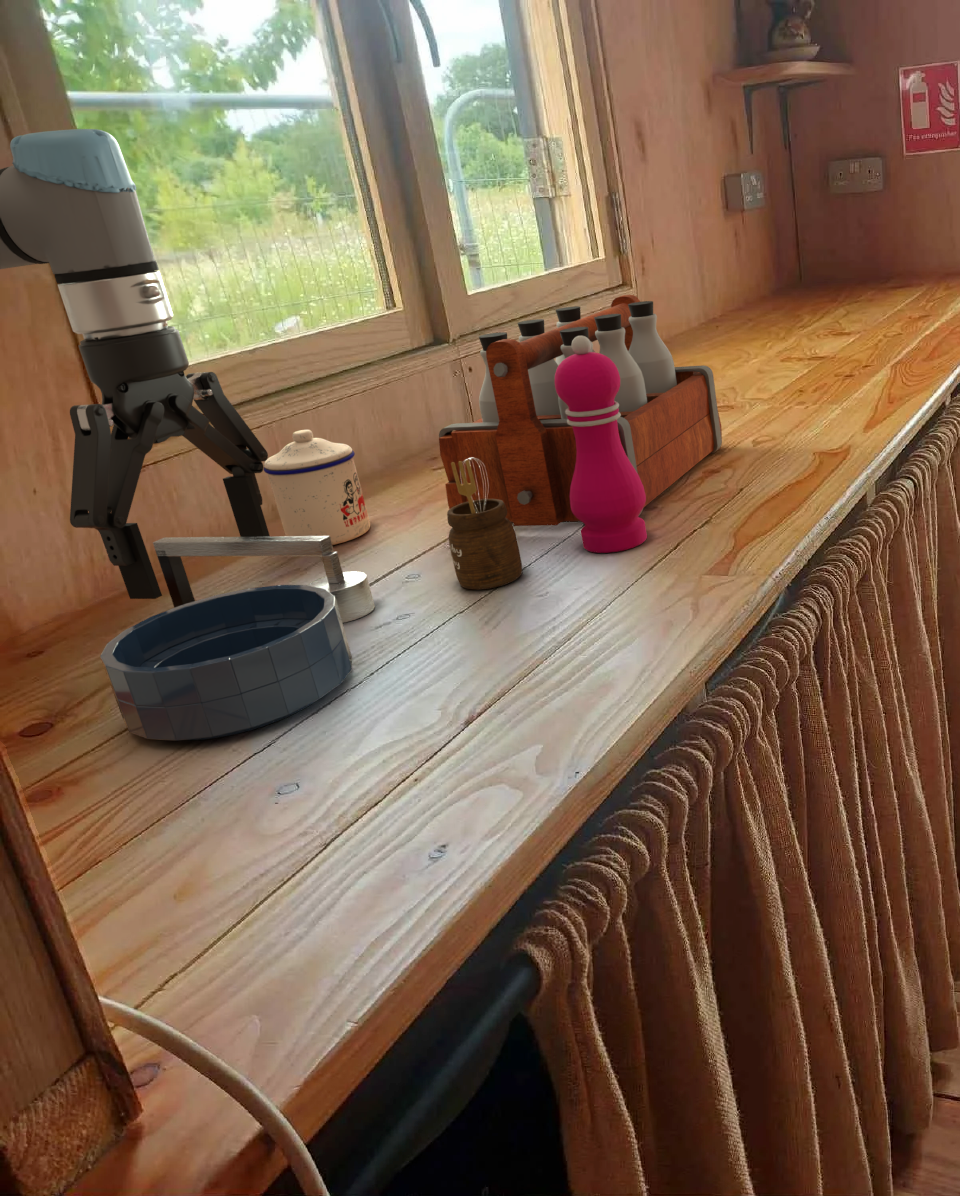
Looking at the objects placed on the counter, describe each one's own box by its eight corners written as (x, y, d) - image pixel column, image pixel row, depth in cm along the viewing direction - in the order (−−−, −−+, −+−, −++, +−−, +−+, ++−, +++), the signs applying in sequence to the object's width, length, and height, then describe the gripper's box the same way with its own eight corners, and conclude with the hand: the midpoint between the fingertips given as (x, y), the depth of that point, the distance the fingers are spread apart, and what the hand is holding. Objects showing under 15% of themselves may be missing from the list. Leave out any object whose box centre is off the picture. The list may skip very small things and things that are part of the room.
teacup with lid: (367, 541, 119) (339, 433, 115) (277, 555, 117) (245, 447, 113) (381, 510, 130) (356, 411, 126) (299, 523, 128) (271, 423, 124)
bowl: (77, 745, 79) (48, 668, 77) (234, 651, 93) (213, 584, 91) (259, 756, 75) (233, 675, 73) (395, 655, 89) (377, 585, 86)
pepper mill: (630, 556, 105) (594, 341, 98) (564, 554, 108) (524, 345, 101) (664, 530, 112) (633, 327, 104) (601, 529, 114) (566, 330, 107)
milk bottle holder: (439, 535, 118) (396, 350, 111) (581, 447, 149) (555, 298, 142) (623, 533, 112) (591, 338, 105) (731, 442, 143) (712, 286, 136)
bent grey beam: (386, 602, 100) (367, 528, 98) (351, 625, 96) (330, 548, 93) (201, 600, 106) (179, 530, 104) (161, 621, 102) (136, 549, 99)
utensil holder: (525, 564, 106) (500, 440, 102) (521, 586, 101) (494, 456, 96) (462, 573, 106) (433, 449, 101) (454, 596, 100) (424, 466, 96)
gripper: (30, 357, 81) (127, 624, 89) (266, 304, 104) (327, 522, 111) (-46, 363, 84) (55, 623, 91) (201, 310, 106) (265, 524, 114)
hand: (205, 568), depth 101 cm, fingers open, 13 cm apart
